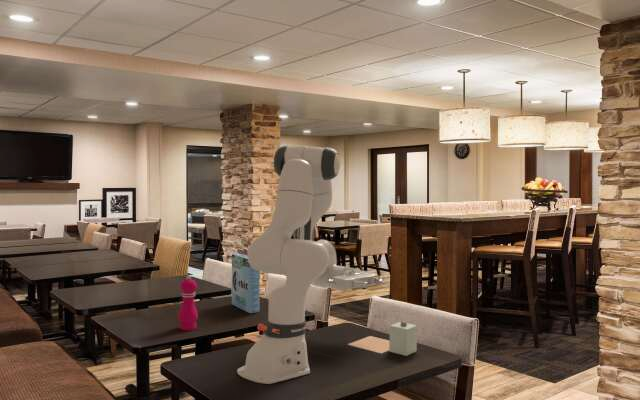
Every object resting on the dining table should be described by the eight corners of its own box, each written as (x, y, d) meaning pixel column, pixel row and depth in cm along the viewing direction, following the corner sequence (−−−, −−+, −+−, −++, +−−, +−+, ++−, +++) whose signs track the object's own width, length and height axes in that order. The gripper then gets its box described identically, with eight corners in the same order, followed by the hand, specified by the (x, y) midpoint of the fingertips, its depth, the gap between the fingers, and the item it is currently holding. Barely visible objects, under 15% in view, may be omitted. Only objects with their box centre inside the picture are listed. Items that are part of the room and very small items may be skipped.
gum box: (259, 312, 230) (260, 258, 229) (248, 313, 228) (249, 259, 227) (241, 303, 247) (241, 252, 246) (230, 304, 244) (231, 253, 243)
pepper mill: (192, 331, 200) (193, 277, 199) (174, 329, 202) (175, 276, 201) (201, 326, 207) (201, 274, 206) (183, 324, 209) (184, 273, 208)
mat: (381, 354, 179) (381, 353, 179) (347, 345, 188) (347, 344, 188) (403, 344, 190) (403, 344, 190) (370, 336, 199) (370, 335, 199)
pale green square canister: (406, 356, 177) (407, 325, 177) (389, 352, 181) (390, 321, 181) (416, 352, 182) (417, 321, 182) (399, 347, 186) (400, 318, 186)
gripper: (324, 272, 189) (357, 277, 180) (359, 267, 205) (390, 272, 196) (324, 290, 189) (356, 296, 180) (358, 284, 205) (389, 289, 196)
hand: (374, 283), depth 188 cm, fingers open, 8 cm apart
